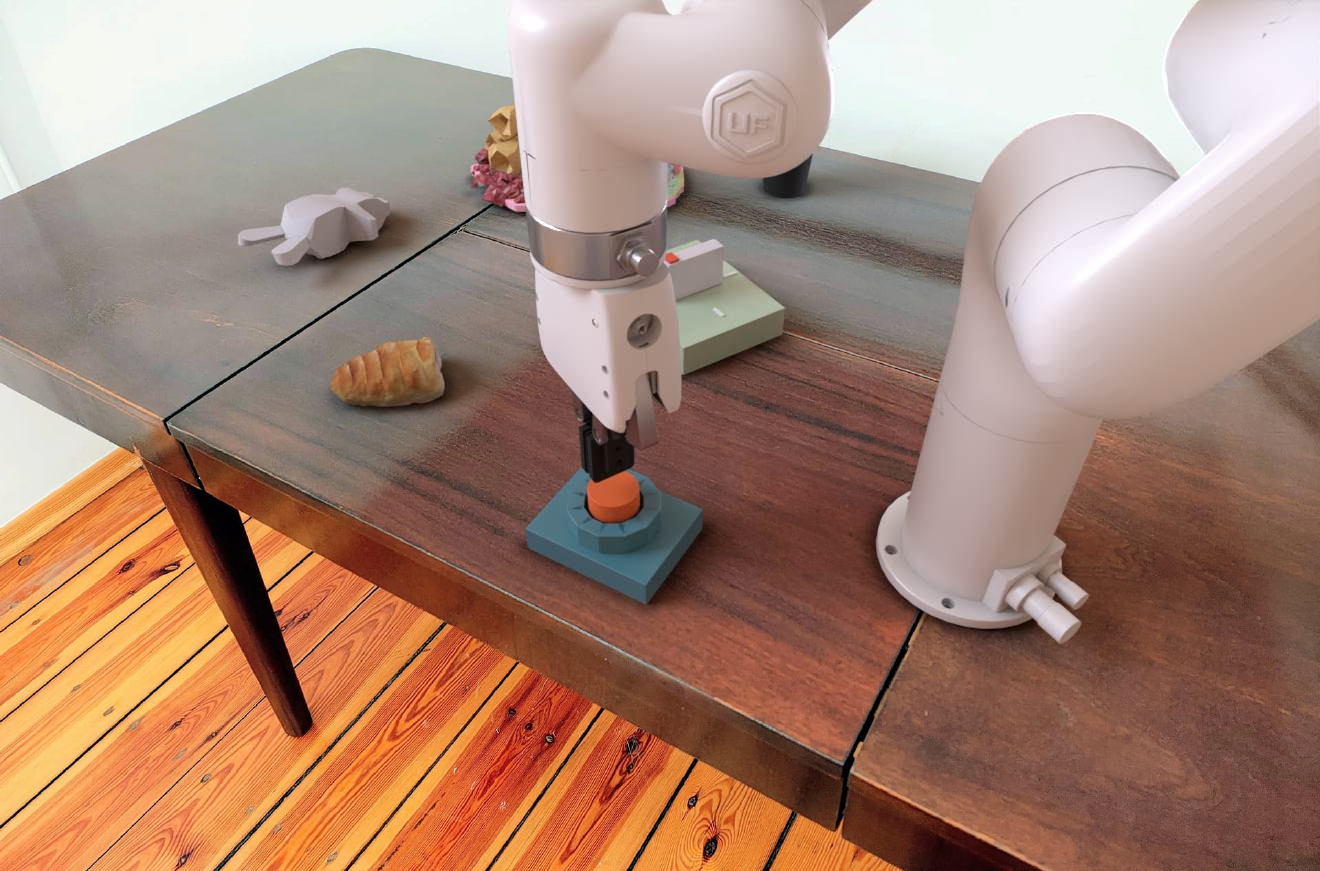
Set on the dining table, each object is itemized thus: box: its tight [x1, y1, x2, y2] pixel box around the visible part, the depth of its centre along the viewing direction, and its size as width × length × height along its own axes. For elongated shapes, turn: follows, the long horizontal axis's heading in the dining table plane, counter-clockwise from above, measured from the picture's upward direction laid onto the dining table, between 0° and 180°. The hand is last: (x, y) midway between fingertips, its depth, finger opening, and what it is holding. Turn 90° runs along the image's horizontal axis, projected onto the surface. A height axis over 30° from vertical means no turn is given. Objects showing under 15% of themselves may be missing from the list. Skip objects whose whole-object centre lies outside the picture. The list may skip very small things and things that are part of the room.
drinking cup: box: [762, 69, 834, 199], centre depth 100 cm, size 8×8×20 cm
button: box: [587, 471, 640, 524], centre depth 65 cm, size 4×4×2 cm
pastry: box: [330, 336, 445, 408], centre depth 79 cm, size 9×7×4 cm
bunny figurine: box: [237, 186, 391, 267], centre depth 96 cm, size 10×5×15 cm
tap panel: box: [666, 239, 786, 376], centre depth 87 cm, size 14×11×3 cm
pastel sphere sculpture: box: [470, 104, 685, 213], centre depth 105 cm, size 25×24×9 cm
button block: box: [525, 466, 704, 605], centre depth 66 cm, size 10×8×4 cm
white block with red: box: [664, 238, 725, 301], centre depth 85 cm, size 6×2×4 cm, turn 123°
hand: (608, 468), depth 63 cm, fingers closed
